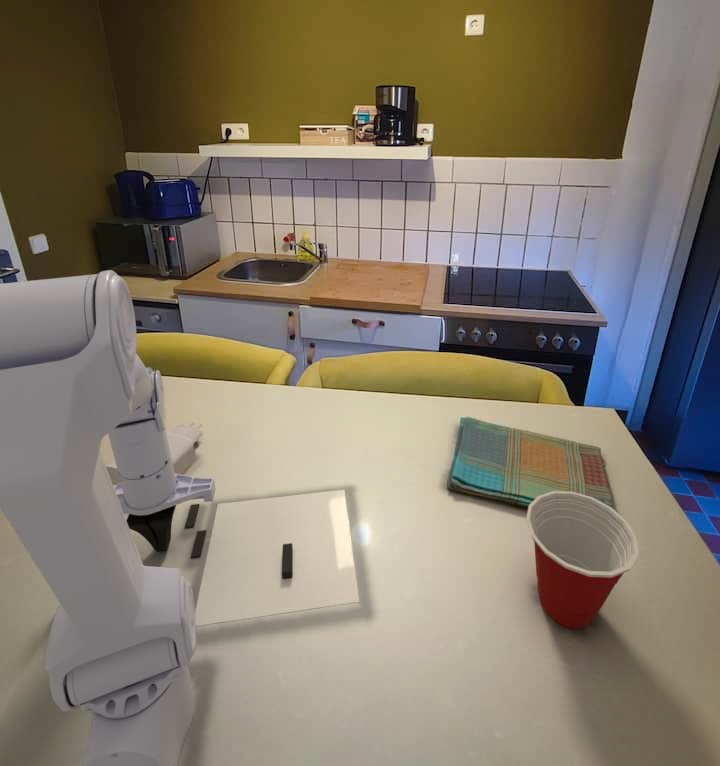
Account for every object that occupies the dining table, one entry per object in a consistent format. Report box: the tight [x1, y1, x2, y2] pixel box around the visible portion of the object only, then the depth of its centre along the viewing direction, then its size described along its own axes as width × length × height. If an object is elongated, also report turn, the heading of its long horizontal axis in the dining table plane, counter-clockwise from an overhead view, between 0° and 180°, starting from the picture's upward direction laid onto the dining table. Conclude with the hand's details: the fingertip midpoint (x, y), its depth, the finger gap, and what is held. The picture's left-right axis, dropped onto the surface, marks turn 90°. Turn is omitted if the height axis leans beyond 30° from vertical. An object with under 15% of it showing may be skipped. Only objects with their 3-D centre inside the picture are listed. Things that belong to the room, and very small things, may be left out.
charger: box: [106, 421, 203, 486], centre depth 71 cm, size 5×9×15 cm
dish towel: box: [446, 416, 616, 511], centre depth 69 cm, size 17×23×2 cm
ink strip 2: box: [190, 529, 207, 559], centre depth 56 cm, size 4×1×1 cm
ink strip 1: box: [184, 503, 200, 529], centre depth 61 cm, size 4×1×1 cm
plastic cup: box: [525, 491, 640, 630], centre depth 48 cm, size 11×11×12 cm
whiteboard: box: [195, 489, 360, 627], centre depth 56 cm, size 18×20×1 cm
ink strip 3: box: [282, 543, 293, 579], centre depth 53 cm, size 4×1×1 cm, turn 8°
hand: (163, 544), depth 56 cm, fingers closed
